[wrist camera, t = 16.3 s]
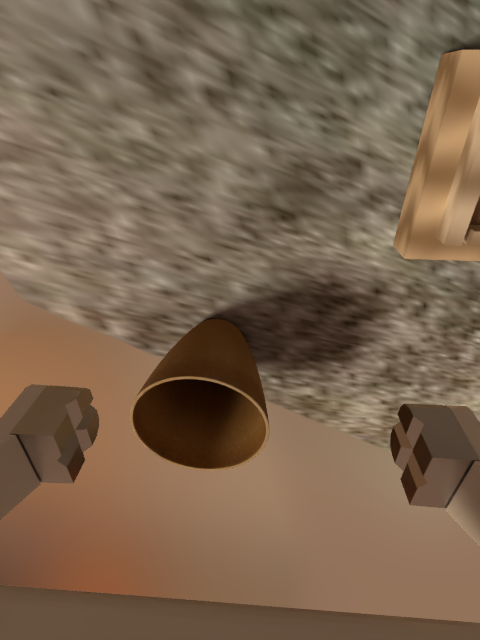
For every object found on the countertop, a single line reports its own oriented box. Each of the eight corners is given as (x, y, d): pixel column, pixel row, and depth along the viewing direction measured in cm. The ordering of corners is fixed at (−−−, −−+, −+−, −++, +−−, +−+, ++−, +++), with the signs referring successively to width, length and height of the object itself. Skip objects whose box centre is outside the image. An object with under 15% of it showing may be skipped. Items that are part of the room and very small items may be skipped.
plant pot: (177, 280, 46) (141, 359, 33) (284, 314, 48) (291, 401, 34) (156, 363, 54) (120, 453, 40) (248, 389, 56) (243, 484, 42)
